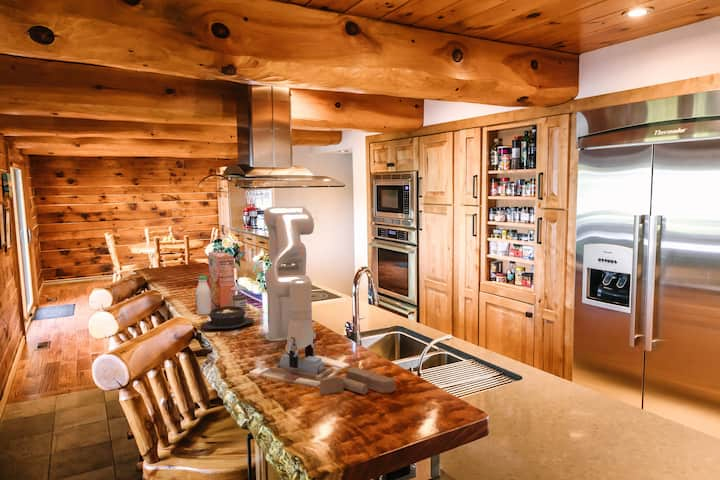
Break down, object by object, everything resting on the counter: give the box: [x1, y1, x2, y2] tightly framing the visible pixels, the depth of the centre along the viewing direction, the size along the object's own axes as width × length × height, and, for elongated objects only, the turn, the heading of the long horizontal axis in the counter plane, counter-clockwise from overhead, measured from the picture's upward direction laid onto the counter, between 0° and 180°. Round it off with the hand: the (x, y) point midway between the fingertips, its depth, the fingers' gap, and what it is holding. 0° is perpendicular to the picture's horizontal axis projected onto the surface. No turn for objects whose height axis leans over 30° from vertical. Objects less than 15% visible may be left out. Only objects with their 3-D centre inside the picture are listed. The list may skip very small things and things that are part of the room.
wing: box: [314, 355, 351, 370], centre depth 181 cm, size 4×16×1 cm, turn 51°
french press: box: [229, 266, 250, 317], centre depth 253 cm, size 10×12×25 cm
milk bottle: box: [195, 275, 212, 316], centre depth 256 cm, size 8×8×20 cm
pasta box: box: [208, 251, 236, 309], centre depth 269 cm, size 23×8×30 cm, turn 30°
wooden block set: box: [319, 366, 396, 396], centre depth 154 cm, size 17×6×18 cm
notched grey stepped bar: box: [279, 352, 326, 375], centre depth 169 cm, size 16×4×6 cm, turn 63°
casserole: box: [200, 306, 255, 331], centre depth 231 cm, size 25×19×8 cm
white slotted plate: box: [249, 360, 270, 377], centre depth 172 cm, size 6×4×4 cm, turn 153°
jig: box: [261, 362, 342, 388], centre depth 170 cm, size 16×22×2 cm
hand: (301, 362), depth 169 cm, fingers open, 9 cm apart
